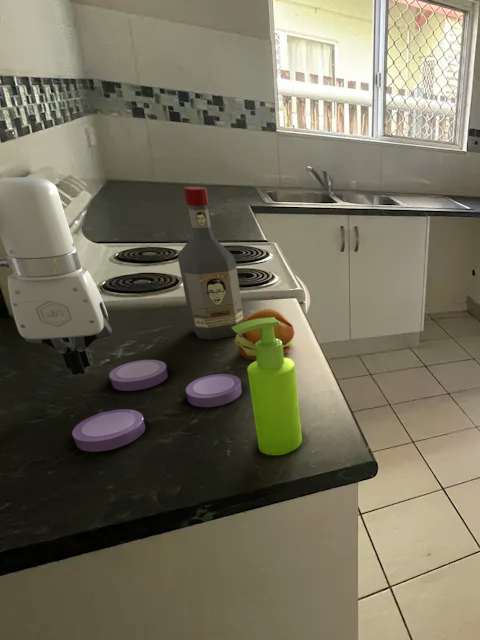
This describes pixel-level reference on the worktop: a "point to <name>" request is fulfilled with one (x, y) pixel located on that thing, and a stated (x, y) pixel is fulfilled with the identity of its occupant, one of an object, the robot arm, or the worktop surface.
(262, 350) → the soap dispenser
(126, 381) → the dish
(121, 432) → the dish
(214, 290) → the liquor
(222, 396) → the middle dish
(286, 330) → the cheeseburger
